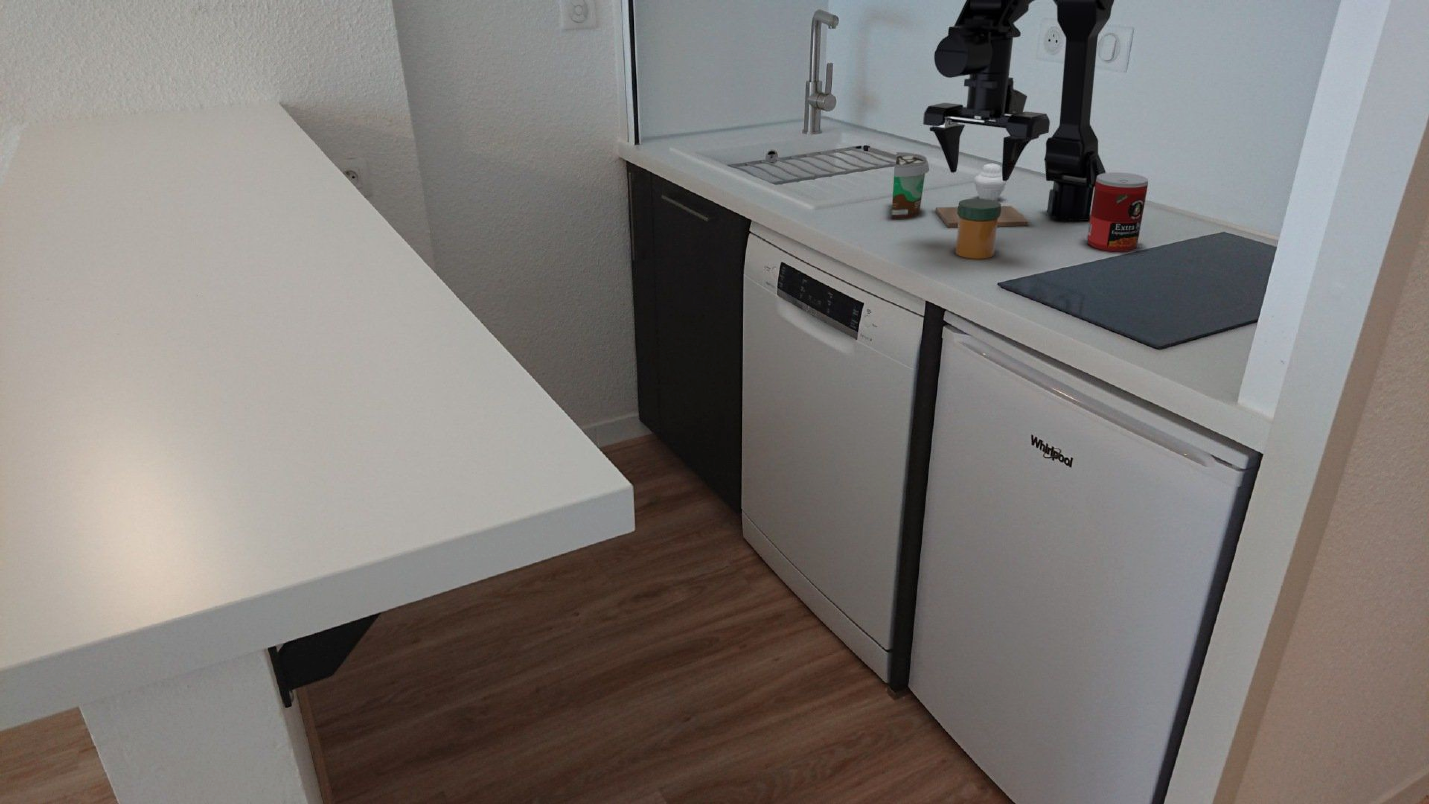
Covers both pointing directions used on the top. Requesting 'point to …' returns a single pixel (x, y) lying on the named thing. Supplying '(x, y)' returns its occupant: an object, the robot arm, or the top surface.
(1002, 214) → the cork mat
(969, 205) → the lid
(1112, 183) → the canned food
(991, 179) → the muffin
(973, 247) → the jar
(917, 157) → the food container
